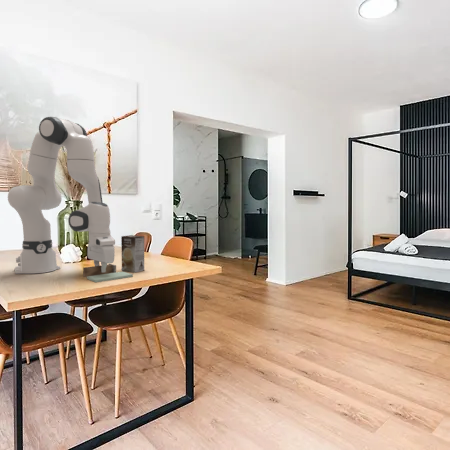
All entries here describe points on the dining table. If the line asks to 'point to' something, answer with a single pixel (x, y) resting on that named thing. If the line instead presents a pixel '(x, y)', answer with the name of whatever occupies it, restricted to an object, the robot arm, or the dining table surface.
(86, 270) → the brown wooden block
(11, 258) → the dining table surface
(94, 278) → the mat
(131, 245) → the coffee box
